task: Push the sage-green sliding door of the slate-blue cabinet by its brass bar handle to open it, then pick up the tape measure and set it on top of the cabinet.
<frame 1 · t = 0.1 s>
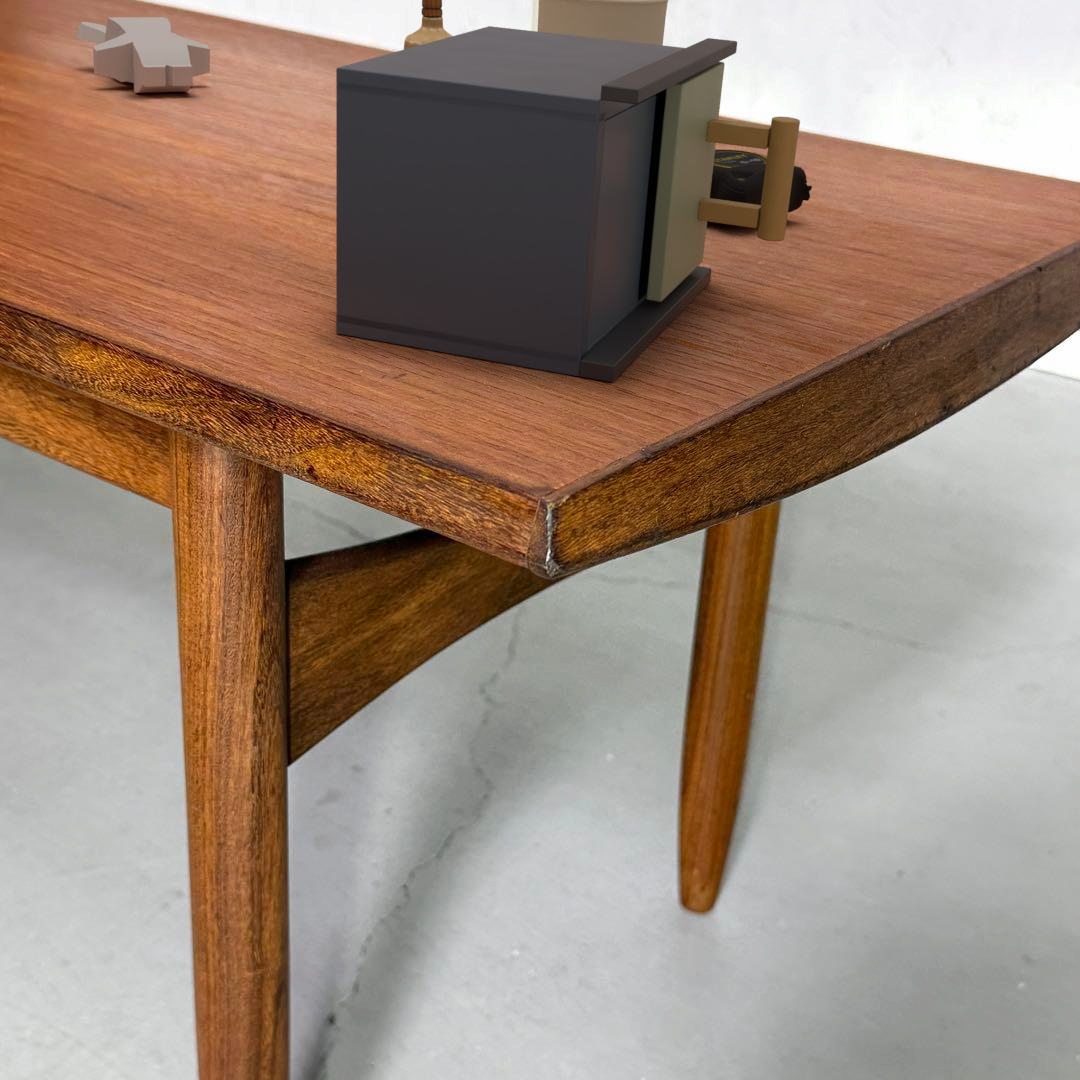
cabinet: (522, 303, 75), on the table
hand bell: (430, 107, 124), on the table
door: (729, 185, 74), point 6 cm above the table, slide at 0.0 cm
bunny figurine: (145, 84, 125), on the table
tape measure: (742, 223, 94), on the table
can: (590, 161, 108), on the table
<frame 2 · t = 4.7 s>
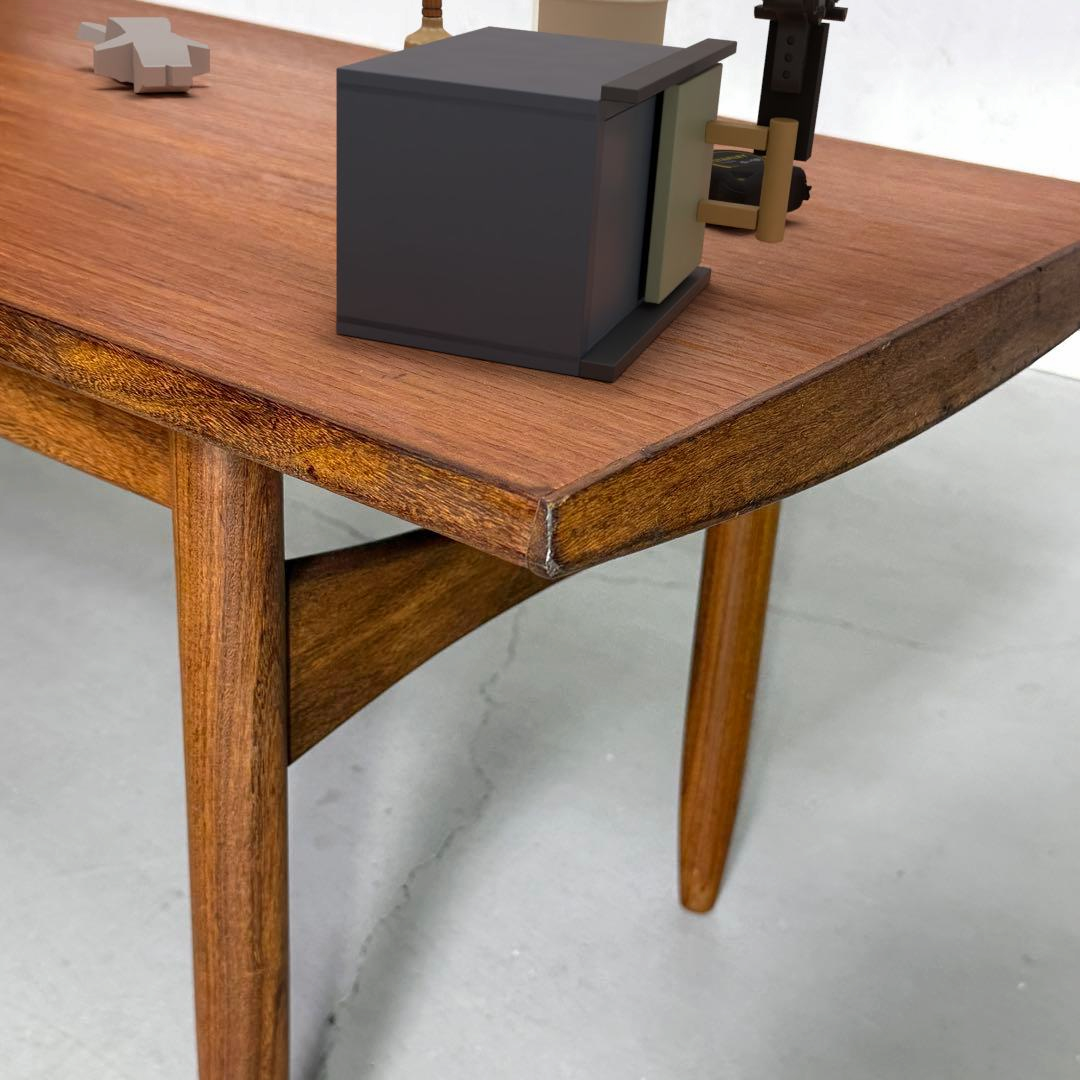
hand: (782, 155, 76), 8 cm above the table, tool pointing down, fingers closed
door: (728, 186, 73), point 6 cm above the table, slide at 0.4 cm, touching gripper
everything else where it was.
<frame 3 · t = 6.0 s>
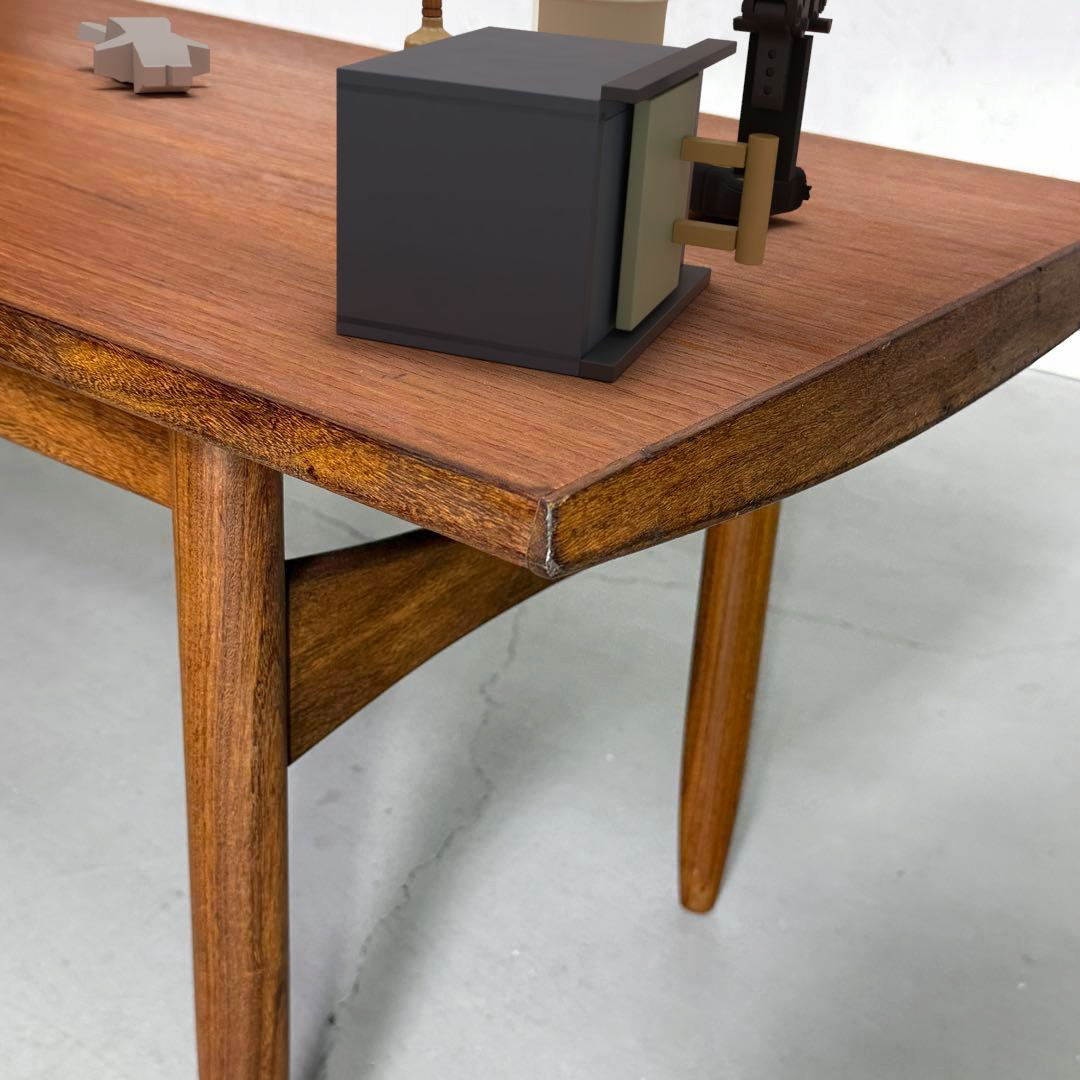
hand: (764, 174, 71), 7 cm above the table, tool pointing down, fingers closed
door: (704, 206, 69), point 6 cm above the table, slide at 5.2 cm, touching gripper
everything else where it was.
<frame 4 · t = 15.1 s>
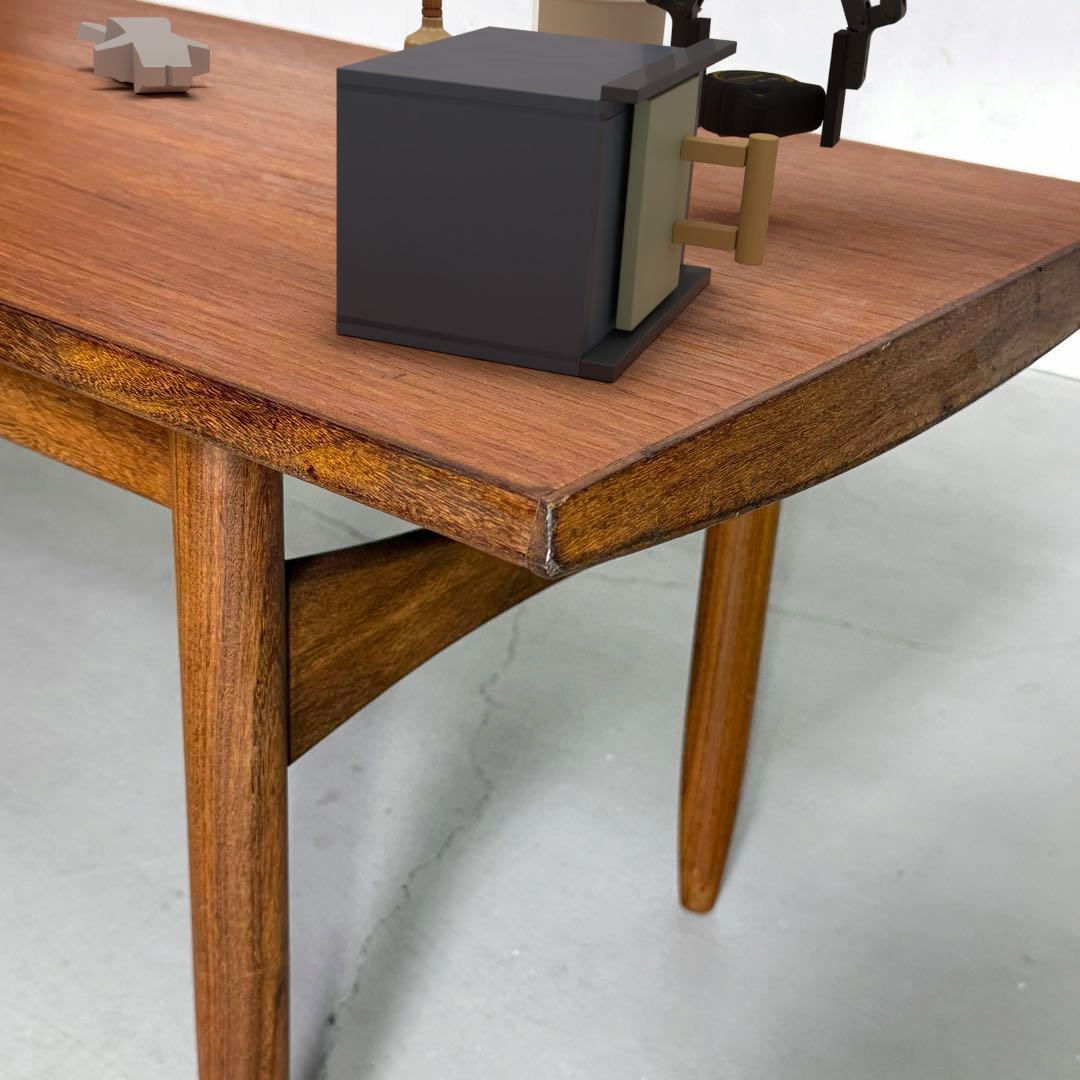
hand: (759, 135, 92), 5 cm above the table, tool pointing down, fingers closed on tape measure, 8 cm apart
door: (704, 206, 69), point 6 cm above the table, slide at 5.2 cm
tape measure: (760, 144, 92), point 5 cm above the table, touching gripper
everything else where it was.
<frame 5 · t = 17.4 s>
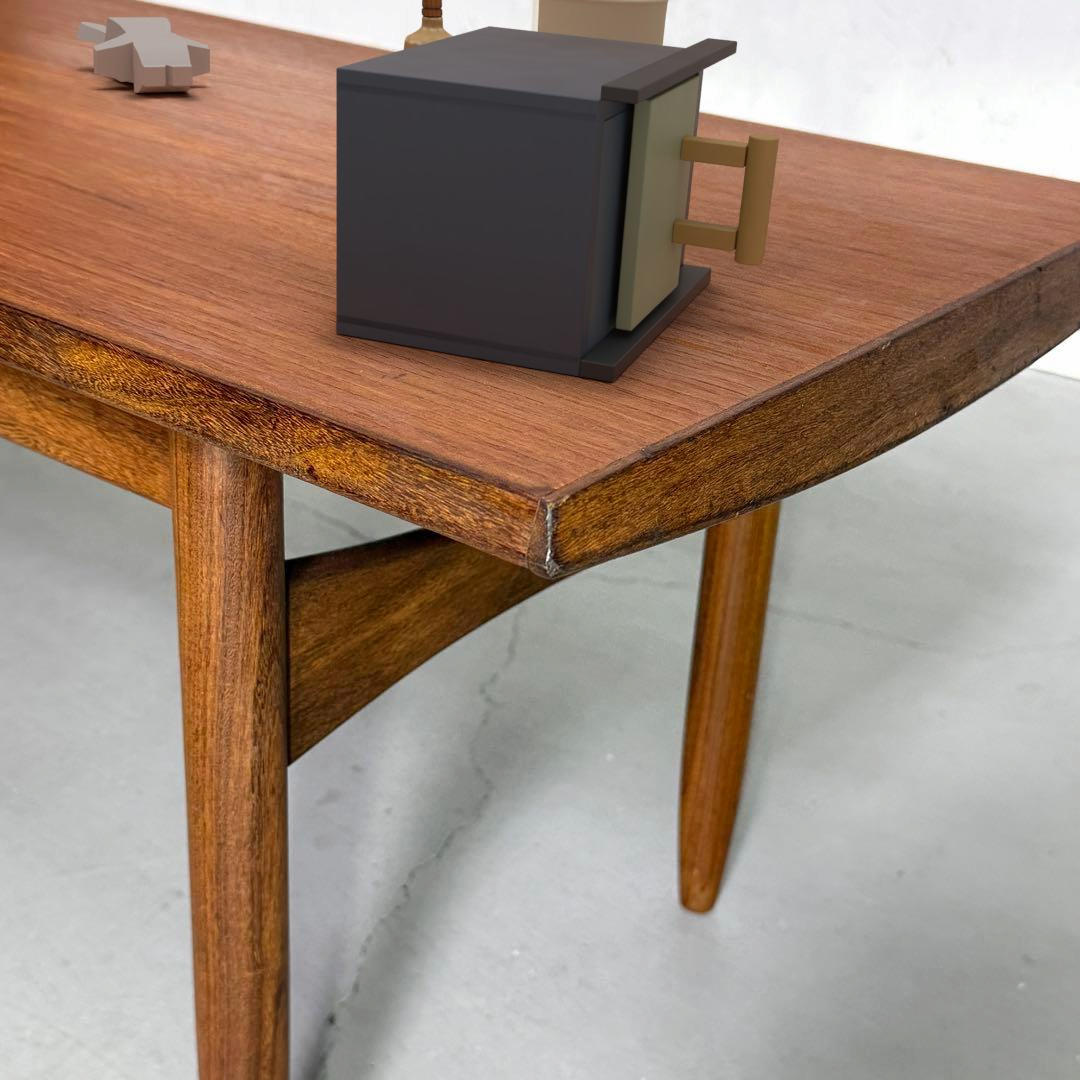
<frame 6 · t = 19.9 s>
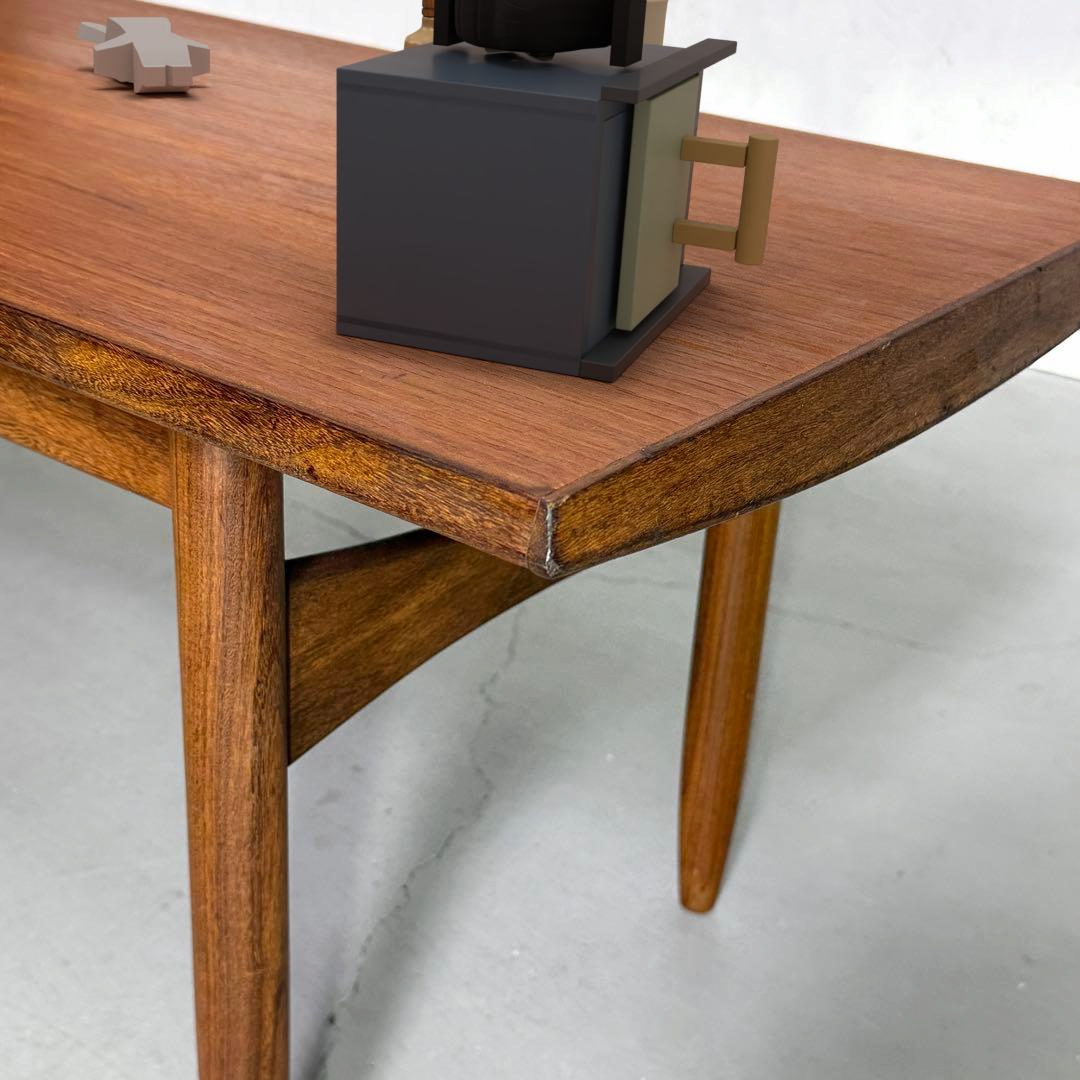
hand: (537, 52, 70), 12 cm above the table, tool pointing down, fingers closed on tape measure, 8 cm apart
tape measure: (539, 62, 70), point 12 cm above the table, touching gripper
everything else where it was.
when the fingers open (12 cm above the table, at t = 20.0 s): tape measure stays where it is, resting on cabinet.
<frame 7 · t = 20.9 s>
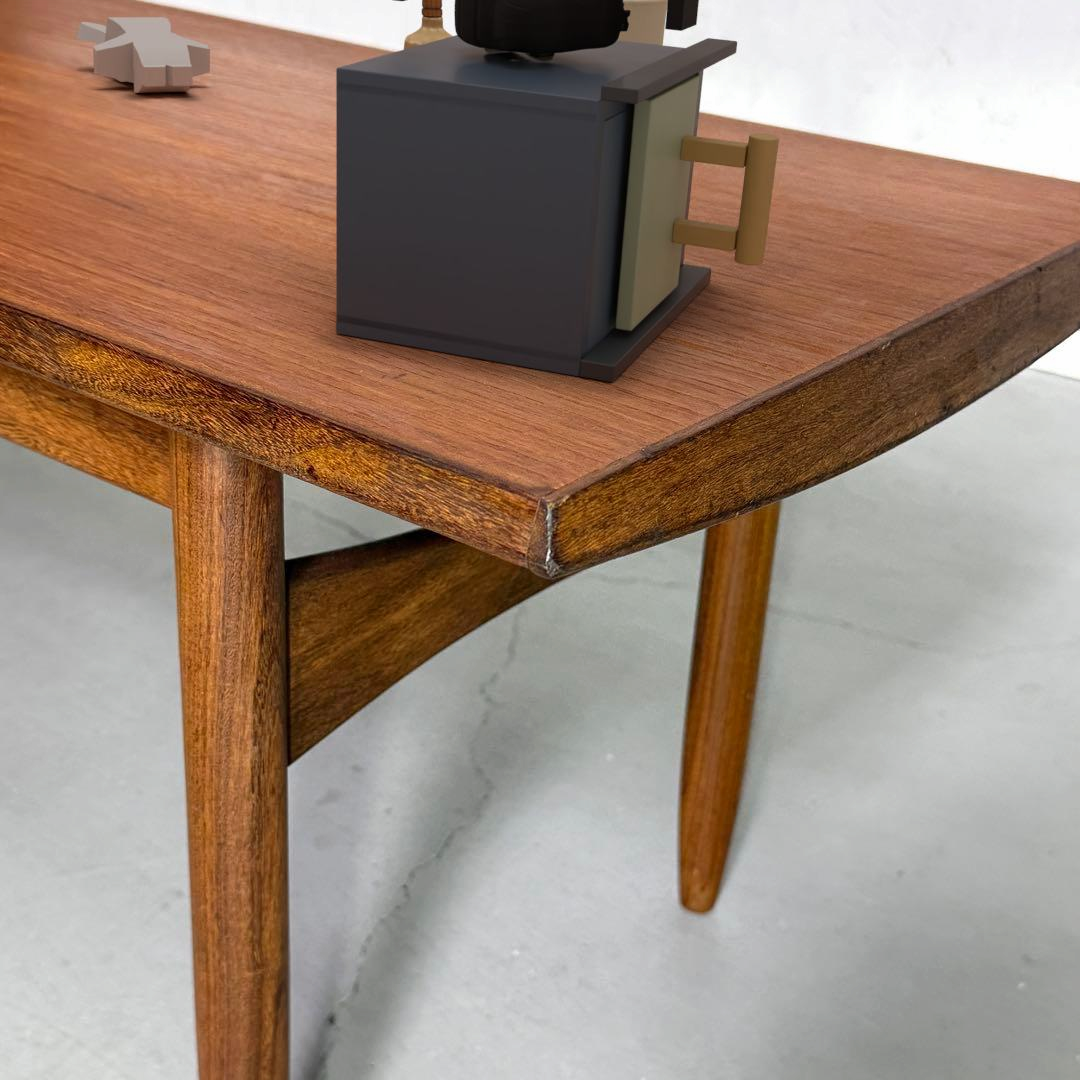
hand: (540, 13, 69), 14 cm above the table, tool pointing down, fingers open, 13 cm apart
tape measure: (539, 62, 70), point 12 cm above the table, touching cabinet
everything else where it was.
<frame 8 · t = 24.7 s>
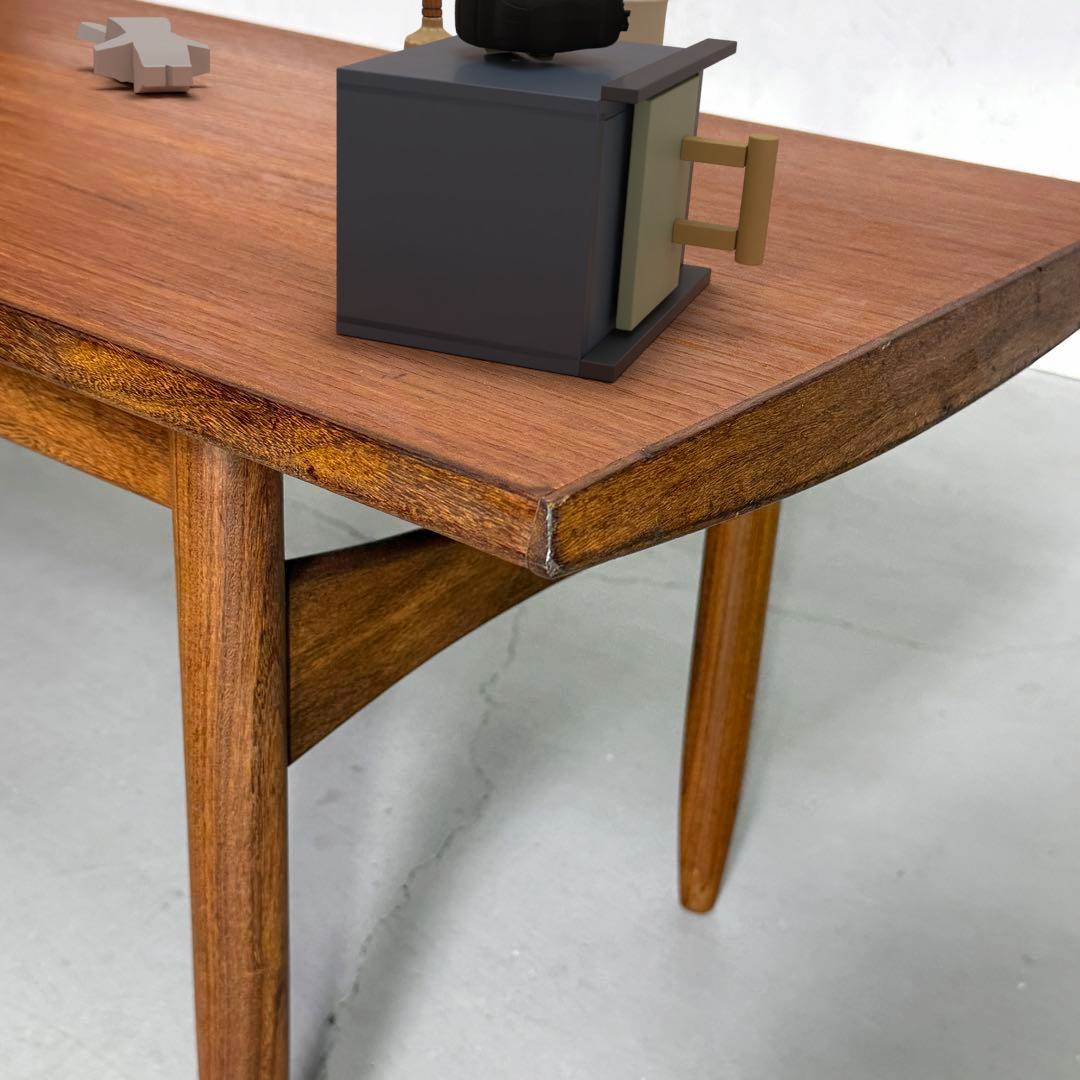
nothing on the table moved.
at the end: door slide at 5.2 cm; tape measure inside the target area on the cabinet (0.1 cm from its centre), point 11.8 cm above the cabinet's base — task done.
